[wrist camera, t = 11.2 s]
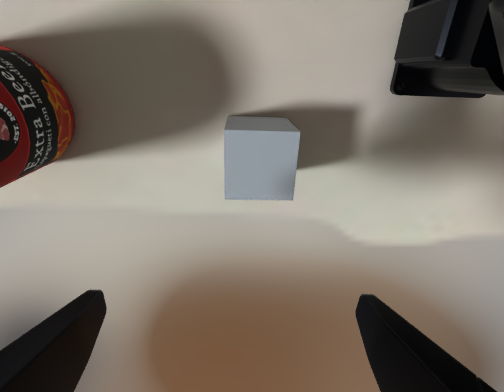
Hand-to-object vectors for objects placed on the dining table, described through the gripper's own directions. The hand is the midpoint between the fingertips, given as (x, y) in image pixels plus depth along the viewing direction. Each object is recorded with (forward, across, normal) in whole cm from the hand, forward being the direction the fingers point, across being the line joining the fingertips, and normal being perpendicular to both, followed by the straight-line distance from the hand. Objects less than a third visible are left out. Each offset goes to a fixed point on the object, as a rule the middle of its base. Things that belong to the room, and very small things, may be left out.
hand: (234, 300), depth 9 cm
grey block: (+12, -1, -3) cm, 12 cm away
